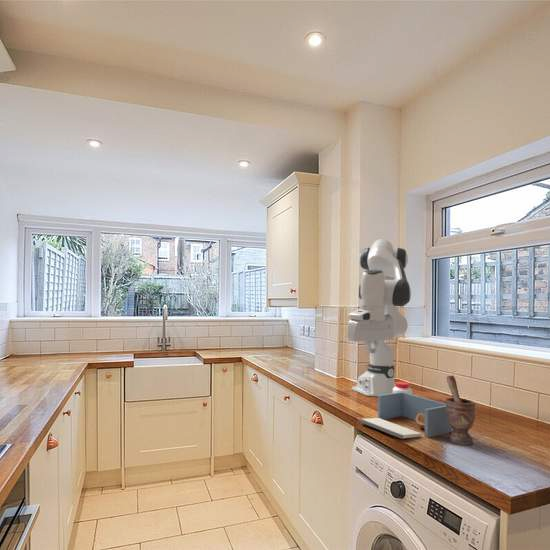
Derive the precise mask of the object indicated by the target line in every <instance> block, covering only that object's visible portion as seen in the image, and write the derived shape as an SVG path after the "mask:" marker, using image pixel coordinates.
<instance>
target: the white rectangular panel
mask: <svg viewBox="0 0 550 550" xmlns="http://www.w3.org/2000/svg"><path fill="white" fill-rule="evenodd" d="M359 423H361V424H364V425H366V426H369V427H372V428H374V429H376V430H379V431H381V432H384V433H386V434H389V435H391V436H394V437H396V438H398V439H410V438H418V437H419V438H420V437H422V433H421V432H418V431H415V430H412V429H410V428H408V427H405V426H402V425H400V424H396V423H394V422H390V421H388V420H387V419H380V418H378V417H373V418H372V417H371V418H360V419H359Z"/></svg>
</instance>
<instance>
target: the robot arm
mask: <svg viewBox="0 0 550 550" xmlns="http://www.w3.org/2000/svg"><path fill="white" fill-rule="evenodd" d="M360 251H361V252H360V253H359V256H358V261H359V265H360V267H361V268H362V269H363V270H364V271H363V272H362V274H361V275H362V276H361V281H360V284H359V285H358V298H359V299H360V304H359V308H358V309H357V310H354V311H352V312H351V311H350V312H349V313H348V319H349V321H348V323H347V328H346V329H347V336H346V338H347V339H348V341H351V342H355V343H357V342H358V343H359V342H364V345H365V348H366V353H367V354H369V363H368V364H366V365H365V368H367V369H366V371H365V372H364V373H362V374H361V375H359V376H358V377H357V381H356V385H354V386H352V387H351V390H352V391H355V392H357V393H360V394H362V395H365V396H366V397H367V396H369V397H378V395H383V394H390V393H393V388H394V387H395V383H396V382H395V376H394V375H395V365H394V349H393V347H392V346H391V345H390V344H389V343H386V342H385V341H386V340H387V341H388V340H389V341H390V340H394V339H395V336H400V335H404V334H405V333H406V332H407V330H408V326H409V325H408V324H409V323H408V320H407V318H406V317H405V316H404V315H403V314H402V312H400V310H399V308H398V307H401V308H403V307H404V306H406V305H407V304H409V303H410V301H411V298H412V290H411V287H410V283H409V281H408V279H407V275H406V272H405V269H406V267H407V265H408V262H409V257H408V253H407V251H406V249H404V248H400V247H397V248H396V247H393V244H392V242H390V240H388V239H385V238H379V239H376V240H375V241H374V242H373V244H372V245H371V246H370V247H365V248H364V249H362V250H360Z"/></svg>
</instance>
